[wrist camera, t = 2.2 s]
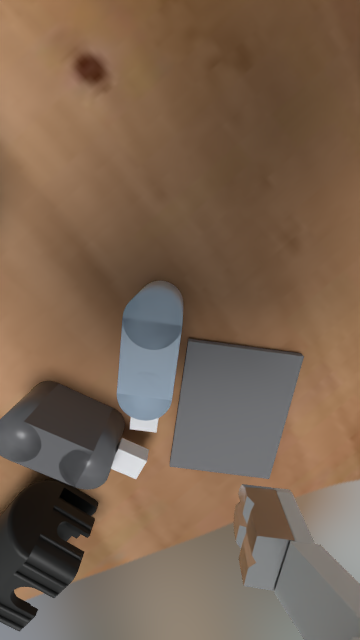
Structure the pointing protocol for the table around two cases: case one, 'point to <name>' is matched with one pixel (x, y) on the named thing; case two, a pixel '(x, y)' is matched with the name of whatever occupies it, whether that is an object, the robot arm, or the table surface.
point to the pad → (233, 407)
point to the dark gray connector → (68, 437)
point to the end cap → (41, 544)
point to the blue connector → (149, 353)
